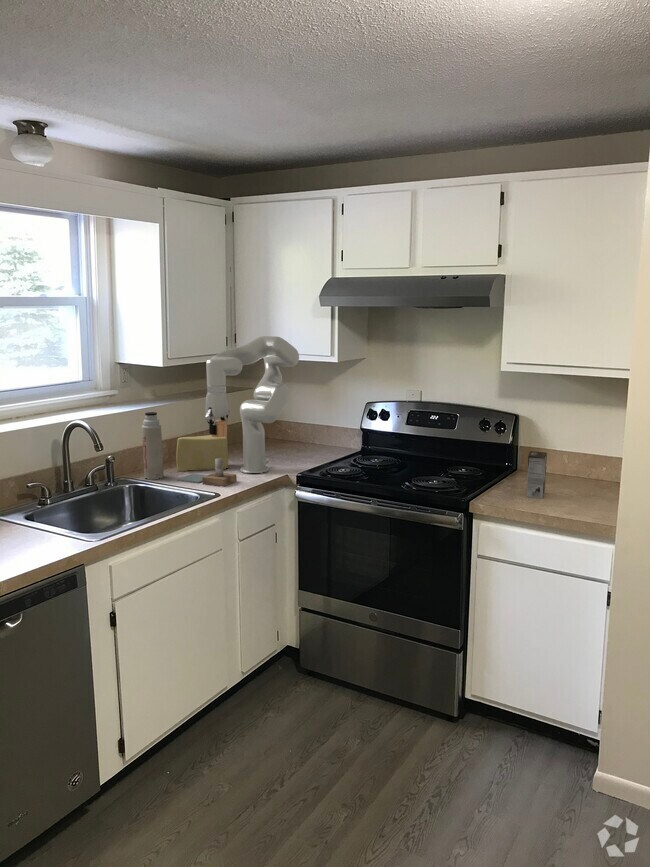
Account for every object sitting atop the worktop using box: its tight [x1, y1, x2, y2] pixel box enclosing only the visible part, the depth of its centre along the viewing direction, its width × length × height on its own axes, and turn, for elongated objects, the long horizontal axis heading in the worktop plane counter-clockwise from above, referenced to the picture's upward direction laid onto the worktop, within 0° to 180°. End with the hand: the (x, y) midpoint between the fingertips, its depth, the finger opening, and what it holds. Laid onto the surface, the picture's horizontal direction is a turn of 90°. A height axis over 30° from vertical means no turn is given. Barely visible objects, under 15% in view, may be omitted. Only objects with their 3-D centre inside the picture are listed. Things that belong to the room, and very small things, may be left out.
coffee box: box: [526, 450, 548, 499], centre depth 275 cm, size 9×6×16 cm
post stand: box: [202, 458, 238, 487], centre depth 297 cm, size 10×10×10 cm
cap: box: [211, 419, 228, 437], centre depth 294 cm, size 6×6×6 cm
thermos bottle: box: [141, 411, 165, 480], centre depth 305 cm, size 8×8×28 cm
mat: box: [176, 473, 208, 484], centre depth 304 cm, size 11×11×1 cm
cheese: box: [175, 434, 229, 472], centre depth 321 cm, size 22×10×15 cm, turn 110°
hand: (218, 432), depth 294 cm, fingers closed on cap, 6 cm apart
